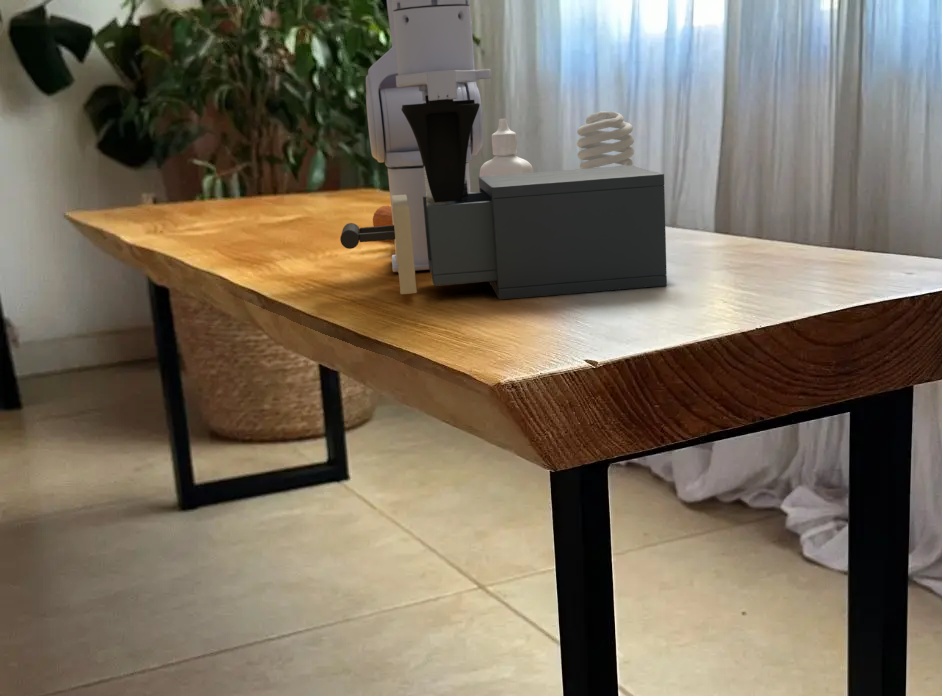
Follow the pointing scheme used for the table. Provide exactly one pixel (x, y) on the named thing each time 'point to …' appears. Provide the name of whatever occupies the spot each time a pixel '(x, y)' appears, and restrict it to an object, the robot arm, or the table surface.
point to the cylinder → (431, 202)
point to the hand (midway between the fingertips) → (446, 199)
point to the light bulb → (596, 136)
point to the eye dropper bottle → (505, 154)
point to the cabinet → (577, 231)
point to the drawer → (439, 241)
